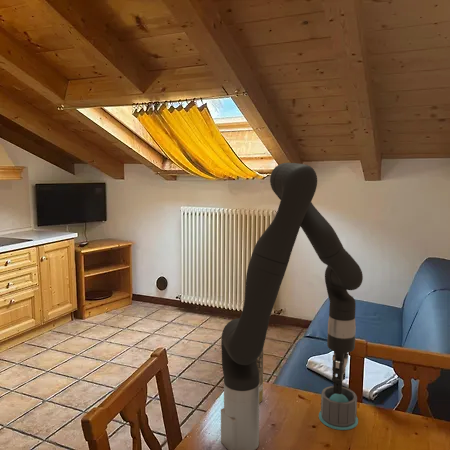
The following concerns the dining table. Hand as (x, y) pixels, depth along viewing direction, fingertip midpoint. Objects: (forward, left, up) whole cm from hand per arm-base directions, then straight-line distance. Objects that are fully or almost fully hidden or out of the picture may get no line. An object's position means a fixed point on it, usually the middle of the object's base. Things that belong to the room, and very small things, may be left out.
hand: (339, 385), depth 123 cm
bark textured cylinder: (-16, +21, -10) cm, 28 cm away
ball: (0, 0, -6) cm, 6 cm away
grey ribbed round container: (0, 0, -10) cm, 10 cm away
